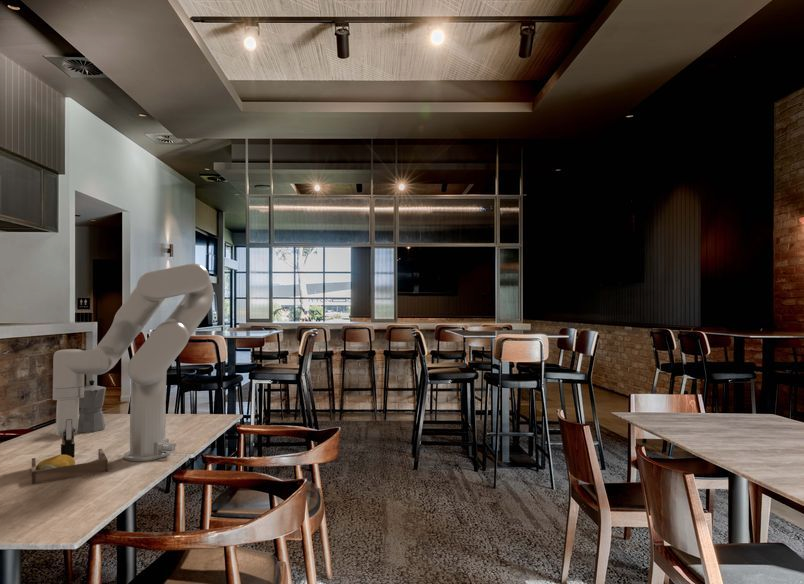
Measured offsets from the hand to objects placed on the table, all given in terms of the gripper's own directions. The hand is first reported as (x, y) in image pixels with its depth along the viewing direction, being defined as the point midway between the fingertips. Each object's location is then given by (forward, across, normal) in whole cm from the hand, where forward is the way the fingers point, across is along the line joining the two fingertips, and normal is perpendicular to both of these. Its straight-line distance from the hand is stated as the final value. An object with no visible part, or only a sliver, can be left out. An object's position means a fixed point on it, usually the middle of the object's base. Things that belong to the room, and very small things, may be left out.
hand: (67, 457), depth 146 cm
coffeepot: (+2, -45, +9) cm, 46 cm away
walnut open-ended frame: (+2, +8, 0) cm, 8 cm away
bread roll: (+2, +5, -3) cm, 6 cm away
